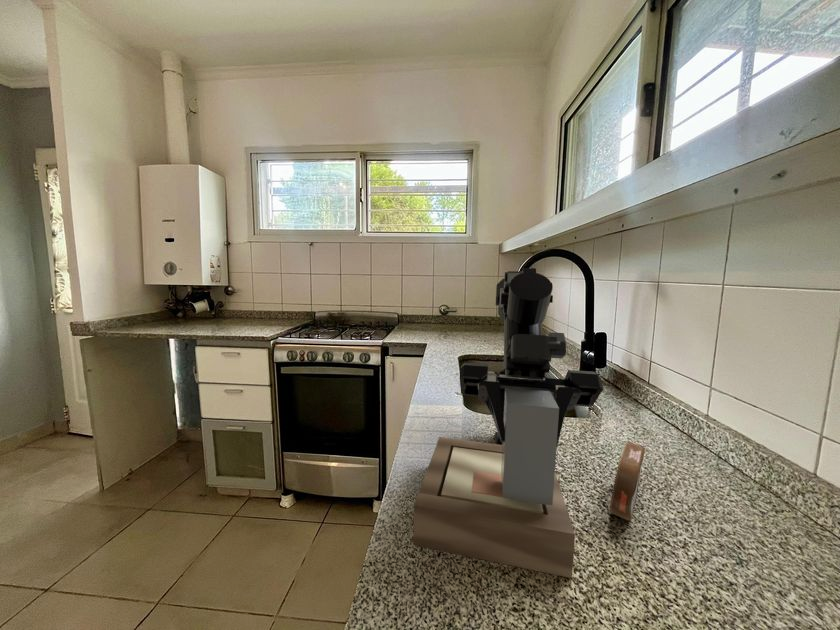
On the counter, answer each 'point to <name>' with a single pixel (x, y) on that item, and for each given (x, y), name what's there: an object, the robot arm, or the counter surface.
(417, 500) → the frame
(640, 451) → the tin
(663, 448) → the counter surface
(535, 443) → the grey rectangular block
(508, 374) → the robot arm
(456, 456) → the trapdoor plate
